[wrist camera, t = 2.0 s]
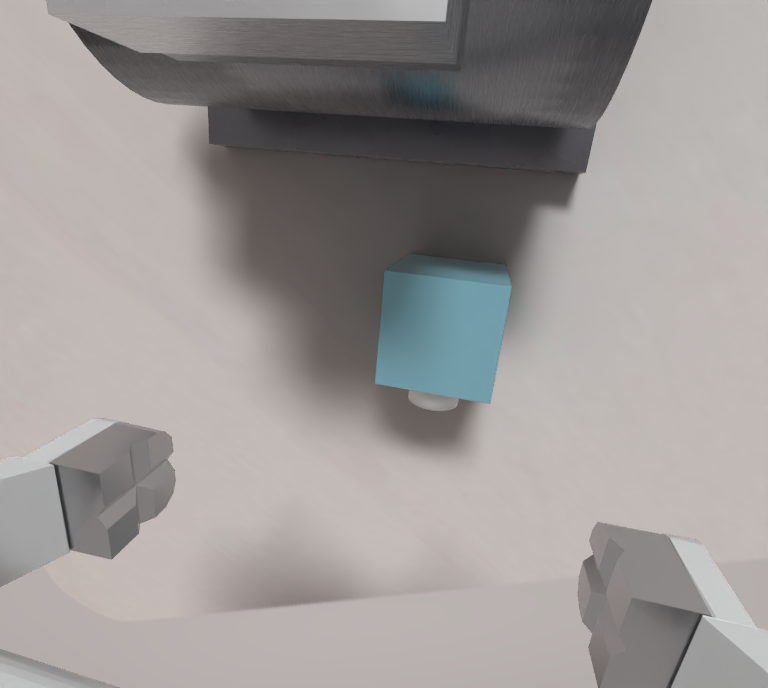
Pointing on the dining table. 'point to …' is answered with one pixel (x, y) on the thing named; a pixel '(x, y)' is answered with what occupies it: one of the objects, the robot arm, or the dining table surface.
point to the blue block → (442, 329)
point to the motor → (377, 72)
